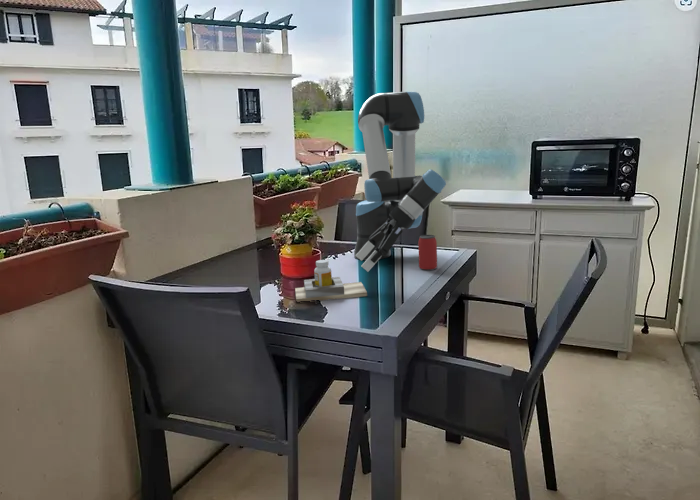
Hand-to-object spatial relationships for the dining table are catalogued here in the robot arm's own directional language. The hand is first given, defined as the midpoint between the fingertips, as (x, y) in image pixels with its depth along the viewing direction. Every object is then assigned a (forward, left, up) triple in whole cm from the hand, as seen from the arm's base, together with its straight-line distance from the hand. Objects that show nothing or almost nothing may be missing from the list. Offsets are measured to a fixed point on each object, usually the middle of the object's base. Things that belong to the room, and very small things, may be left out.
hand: (361, 263), depth 161 cm
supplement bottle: (0, -12, -8) cm, 15 cm away
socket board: (0, -10, -9) cm, 14 cm away
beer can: (-20, +28, -9) cm, 35 cm away
